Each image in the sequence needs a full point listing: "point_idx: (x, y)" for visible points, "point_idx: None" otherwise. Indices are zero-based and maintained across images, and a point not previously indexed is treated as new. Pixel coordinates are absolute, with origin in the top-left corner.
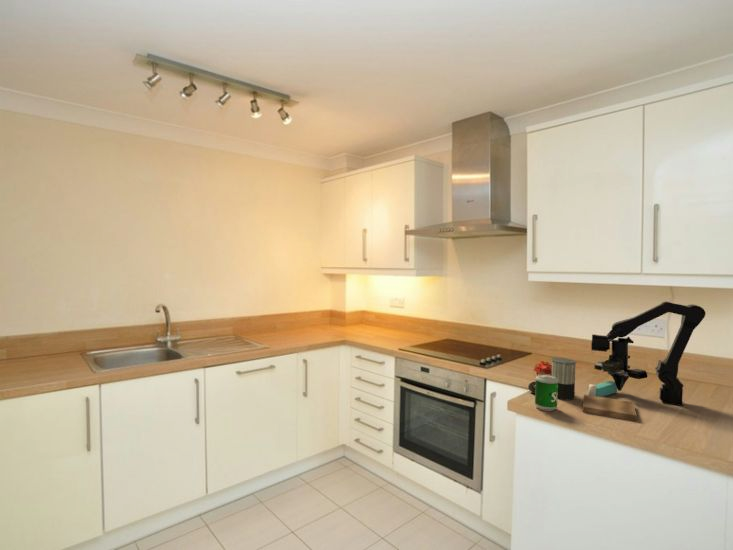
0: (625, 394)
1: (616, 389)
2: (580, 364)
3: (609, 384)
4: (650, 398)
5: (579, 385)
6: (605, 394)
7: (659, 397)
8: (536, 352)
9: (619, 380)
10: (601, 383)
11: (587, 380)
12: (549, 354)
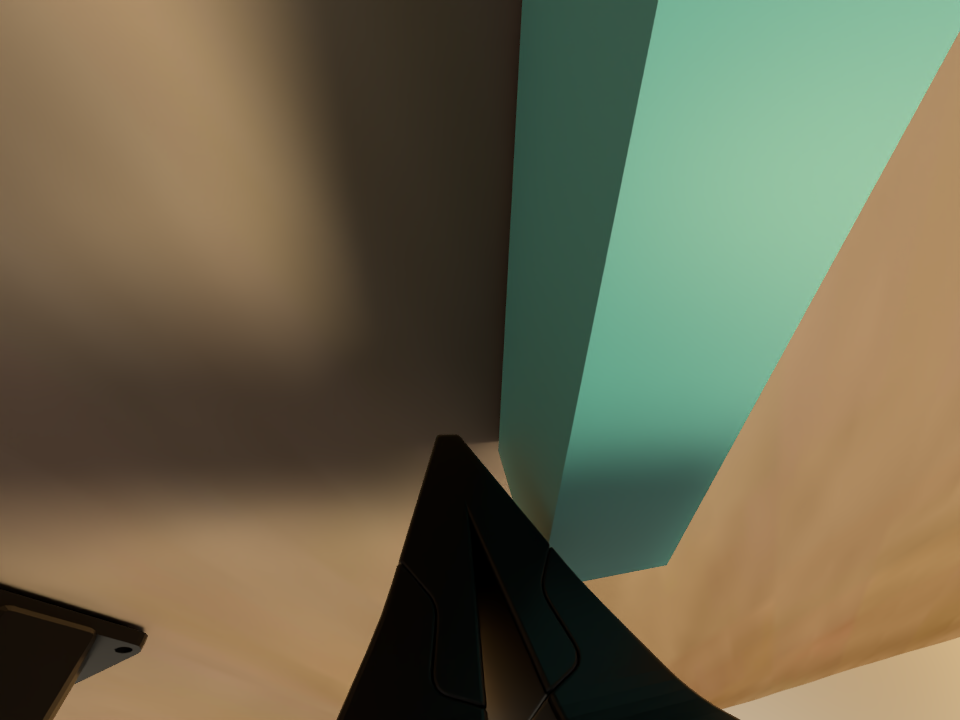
0: (406, 471)
1: (509, 465)
2: (823, 654)
3: (615, 353)
4: (181, 572)
5: (926, 308)
6: (532, 2)
7: (74, 637)
8: None
9: (433, 664)
10: (840, 223)
11: (810, 511)
12: (946, 640)
